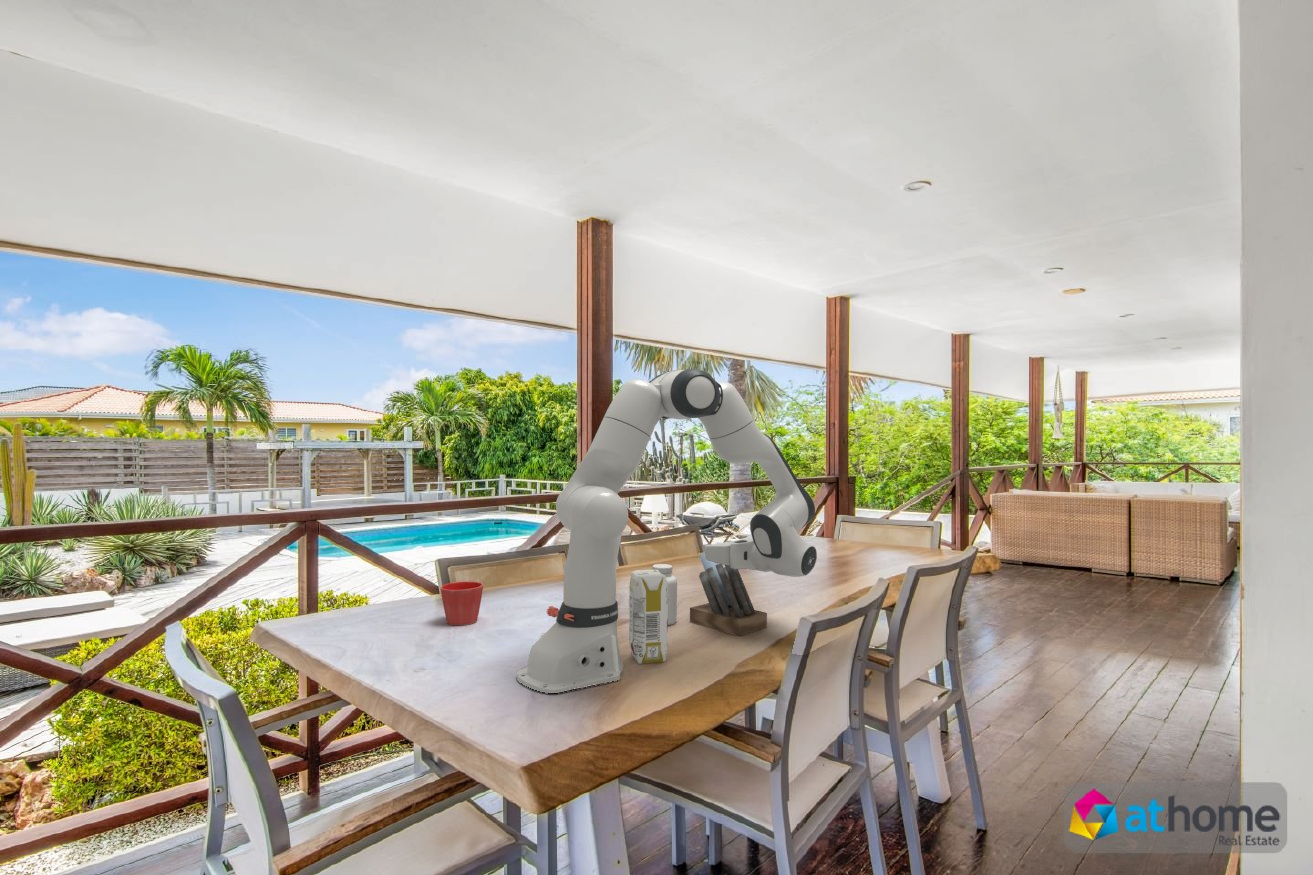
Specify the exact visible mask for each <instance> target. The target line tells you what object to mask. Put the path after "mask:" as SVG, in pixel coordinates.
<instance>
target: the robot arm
mask: <svg viewBox="0 0 1313 875" xmlns="http://www.w3.org/2000/svg"><path fill="white" fill-rule="evenodd" d="M661 419H664V420H665V419H667V420H668V419H674V420H680V421H681V420H689V419H698V420H699V421H700V422H701V423H702V425H703V426H704V429H705V432H706V434H707V436H708V439H709V440H710V443H711V445H712V447H713V450H714V451H715V453H716V454H717V455H718V457H719V458H720V459H722V460H723V461H725V462H727V463H730V464H735V465H736V464H737V465H741V464H747V463H748V464H749V463H756V464H758V465H759V466H760V467H761V468H762V469H763V471H764V473H765V474H766V476H767V477H768V479H769V481H770V483H771V484H772V485H773V487H774V489H775V495H774V498H773V499H772V500H771V501H769V503H767V504H766V505H765V506H763V507H762V508H761V509H760V510H759V511H757V512H756V514H754V516H752V518H751V519H750V522H749V529H750V534H749V535H748V536H746V537H744V538H742V539H737V540H726V542H725V541H724V542H718V543H712V544H707V543H706V544H702V546H701V547H702V548H701V551H702V552H703V553H704V552H705V558H706V559H707V560H708V561H711V562H715V563H718V564H722V565H723V566H725V565H730V567H731V568H732V569H738V570H749V571H750V570H751V571H758V572H764V573H771V572H772V573H774V574H776V575H780V576H785V577H791V578H792V577H793V578H794V577H795V578H800V577H801V578H802V577H806V576H808V574H810V572H812V571H813V569H814V568H815V565H816V563H817V558H818V552H817V549H816V547H815V546H814V545H813V544H811V543H808V542H807V541H806V540H804V539H803V538H802V537H801V535H800V534H799V531H800V530H801V529H802V528H804V527H805V526H807V525H808V524H809V523H811V522H812V521H813V520H814V518H815V515H816V506H815V502H814V500H813V497H812V496H811V494H809V493H808V492H807V490H806V489H805V488H804V487H803V485H802V484H801V483H800V481H799V480H798V478H797V477H796V475H795V472H794V471H793V470H792V468H791V467H790V464H789V463H788V461H787V460H786V458H785V456H784V454H783V453H782V451H781V449H780V448H779V446H778V445H777V444H776V442H775V441H774V440H773V438H772V437H771V436H769V435H768V434H766V433H763V432H762V431H761V430H760V429H759V428H758V425H756V422H755V419H754V418H753V416H752V413H751V412H750V410H749V408H748V406H747V404H746V402H745V401H744V398H743V397H742V396H741V394H740V393H739V391H738V390H737V389H736V387H735V386H734V385H733V384H732V383H730V382H727V381H716V379H714V377H713V376H712V375H711V374H709V373H708V372H707V371H704V370H701V369H698V368H687V369H673V370H670V371H668V372H665V373H660V374H657V375H656V376H655V377H654V378H652V379H651V380H649V381H647V380H644V379H637V378H636V379H635V378H634V379H633V378H632V379H629V380H628V381H626V382H624V383H623V385H622V386H620V389H619V390H618V391H617V393H616V395H614V398H613V399H612V400H611V403H610V404H609V406H608V408H607V410H606V412H605V414H604V416H603V418H602V420H601V423H600V425H599V427H598V429H597V431H596V433H595V435H594V437H593V440H592V442H591V445H590V446H589V448H588V450H587V452H586V454H585V455H584V458H583V459H582V460H581V462H579V465H578V466H577V468H576V469H575V471H574V472H573V474H572V475H571V477H570V478H569V481H568V482H567V484H566V486H565V487H564V488H563V490H562V491H561V492H560V493H559V494H558V496H557V498H556V503H555V512H556V515H557V518H558V519H559V521H560V523H561V524H562V526H564V527H565V529H567V530H568V531H569V532H570V533H569V534H570V535H569V545H568V550H567V555H566V559H565V561H564V564H563V601H562V602H561V605H560V607H559V608H557V607H554V606H552V605H550V606H548V607H547V609H546V615H547V616H549V617H552V618H556V619H555V623H554V624H553V625H552V626H550V628H549V629H548V630H547V631H546V632H545V633H544V634H543V635H542V636H541V637H540V638H539V639H538V640H537V641H536V642H535V643H534V644H532V646H531V648H530V651H529V654H528V660H527V661H528V663H527V667H524V668H523V669H520V670H517V671H516V681H517V682H519V683H520V684H521V683H522V684H523V686H524V685H525V686H524V687H526V686H527V687H526V688H528V687H529V688H528V689H530V688H531V689H530V690H532V689H534V690H533V691H535V690H537V691H536V692H538V691H540V692H539V693H542V692H545V693H544V694H548V693H557V692H563V691H565V690H569V689H574V688H578V687H584V686H588V685H593V684H598V683H604V684H608V683H607V682H609V683H612V681H614V682H617V680H618V681H620V680H621V679H620V678H621V673H622V672H623V671H624V668H625V667H624V664H623V662H622V661H623V660H622V657H621V653H620V646H619V640H618V639H619V638H618V629H617V627H618V626H617V623H618V619H619V604H618V603H619V602H618V601H617V598H616V597H617V594H616V593H617V562H618V556H619V550H620V546H621V540H622V535H623V532H624V530H625V529H626V527H627V526H628V525H627V524H628V521H629V511H628V507H627V504H626V502H625V501H624V500H623V498H622V497H621V496H620V495H619V493H620V492H621V490H622V488H623V487H624V485H625V484H626V483H627V481H628V480H629V479H630V477H632V476H633V475H634V474H635V473H636V472H637V469H638V467H639V465H640V463H641V460H642V458H643V456H644V454H645V451H646V449H647V447H648V445H649V442H650V439H651V437H652V435H653V432H654V429H655V428H656V426H657V424H658V423H659V421H660V420H661ZM522 684H521V685H522ZM563 693H564V692H563Z"/></svg>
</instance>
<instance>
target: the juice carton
mask: <svg viewBox="0 0 1313 875" xmlns="http://www.w3.org/2000/svg"><path fill="white" fill-rule="evenodd" d="M628 585H629V586H628V587H629V590H628V591H629V596H628V597H629V599H628V600H629V603H628V604H629V605H628V606H629V608H628V610H629V613H628V614H629V615H628V616H629V619H628V621H629V622H628V623H629V628H628V629H629V632H628V633H629V634H628V635H629V637H628V638H629V639H628V640H629V642H628V643H629V647H630V648H629V649H630V653H631V655H632V657H633V658H634V659H635V660H636V662H637V664H639V665H642V664H654V663H655V664H656V663H663V662H666V659H667V654H668V646H669V645H668V638H669V634H668V632H669V631H668V630H669V625H668V585H667V580H666V575H664V574H661V573H660V572H659V571H658V570H652V569H641V570H638V569H637V570H631V574H630V578H629V584H628Z"/></svg>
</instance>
